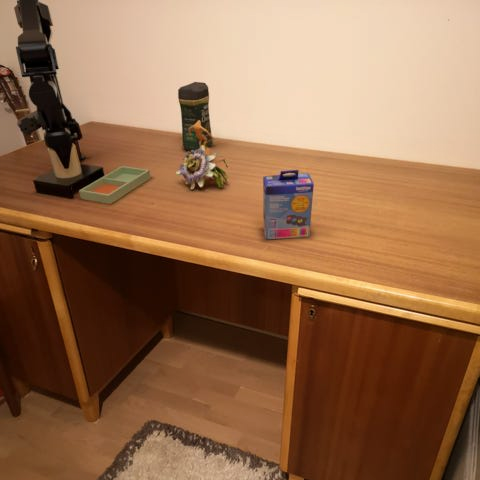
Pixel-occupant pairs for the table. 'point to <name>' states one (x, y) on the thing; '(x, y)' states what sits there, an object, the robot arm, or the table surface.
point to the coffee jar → (194, 113)
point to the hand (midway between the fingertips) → (65, 162)
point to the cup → (58, 167)
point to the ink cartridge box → (287, 205)
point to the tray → (115, 184)
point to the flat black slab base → (65, 181)
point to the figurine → (201, 135)
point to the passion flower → (201, 168)
